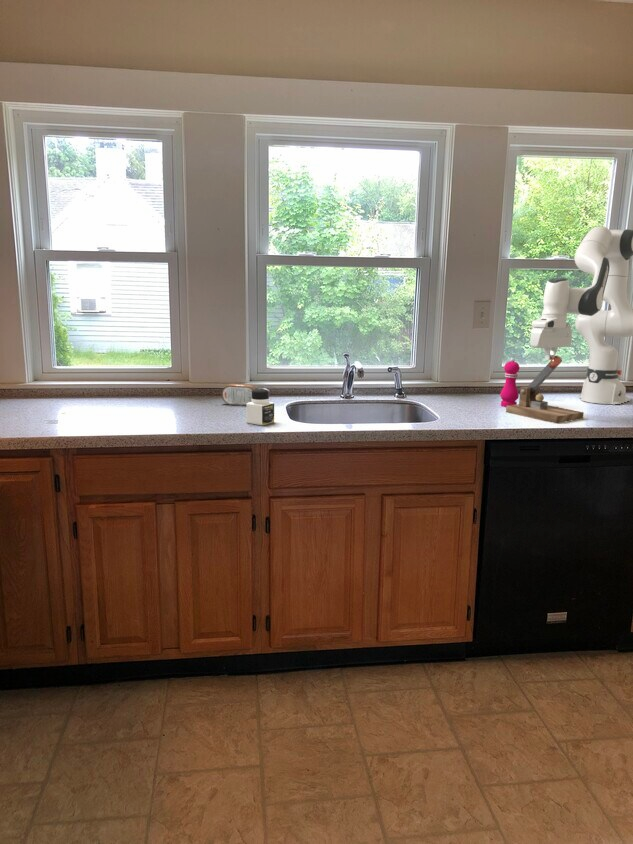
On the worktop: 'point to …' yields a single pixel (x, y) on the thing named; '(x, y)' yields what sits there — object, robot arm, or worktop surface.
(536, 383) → the lever
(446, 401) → the worktop surface
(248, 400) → the tin
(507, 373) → the pepper mill
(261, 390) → the medicine bottle
